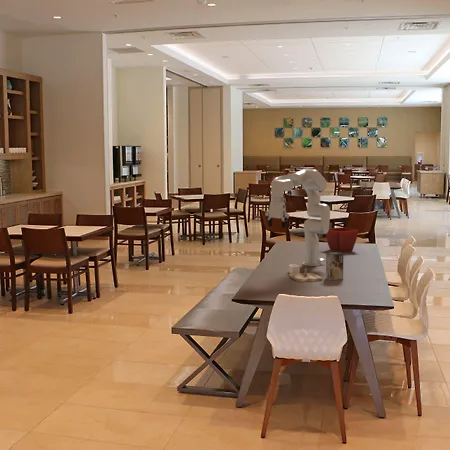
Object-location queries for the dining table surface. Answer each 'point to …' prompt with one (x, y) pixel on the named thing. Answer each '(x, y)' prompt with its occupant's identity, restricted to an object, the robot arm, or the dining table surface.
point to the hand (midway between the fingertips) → (277, 227)
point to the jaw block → (294, 269)
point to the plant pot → (341, 239)
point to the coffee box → (334, 266)
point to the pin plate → (305, 276)
